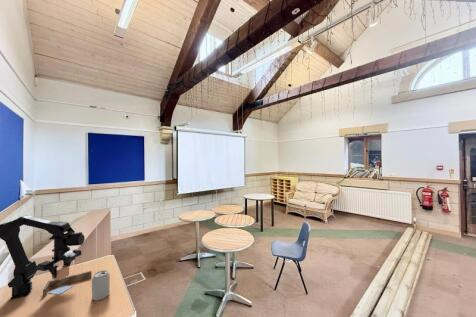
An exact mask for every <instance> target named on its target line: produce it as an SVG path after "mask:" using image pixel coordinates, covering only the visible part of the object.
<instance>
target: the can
mask: <svg viewBox="0 0 476 317" xmlns="http://www.w3.org/2000/svg"><path fill="white" fill-rule="evenodd" d="M110 276H111V275H110V273H109V271H108V270H106V269H104V270H99V271H97V272H95V273H94V274H93V275H92V277H91V299H92V300H94V301H96V302H97V301H101V300H104V299H105V298H107V297H108V295H109V294H110V285H111V284H110V278H111V277H110Z"/></svg>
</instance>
